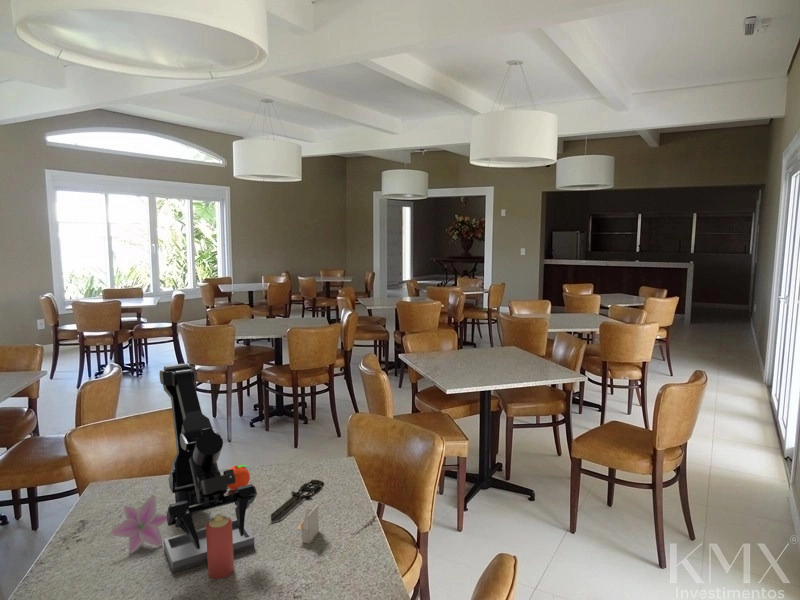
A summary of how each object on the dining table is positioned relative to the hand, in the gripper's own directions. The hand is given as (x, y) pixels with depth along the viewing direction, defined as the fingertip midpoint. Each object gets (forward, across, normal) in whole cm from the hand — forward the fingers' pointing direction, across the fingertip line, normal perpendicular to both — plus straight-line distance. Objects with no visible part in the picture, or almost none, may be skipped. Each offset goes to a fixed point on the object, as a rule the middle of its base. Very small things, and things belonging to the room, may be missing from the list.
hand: (220, 542), depth 117 cm
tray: (-3, 0, +13) cm, 14 cm away
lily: (-11, -13, +22) cm, 27 cm away
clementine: (-22, +15, +32) cm, 42 cm away
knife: (-10, +26, +21) cm, 35 cm away
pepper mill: (+4, 0, +6) cm, 7 cm away
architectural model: (+3, +22, +8) cm, 23 cm away
